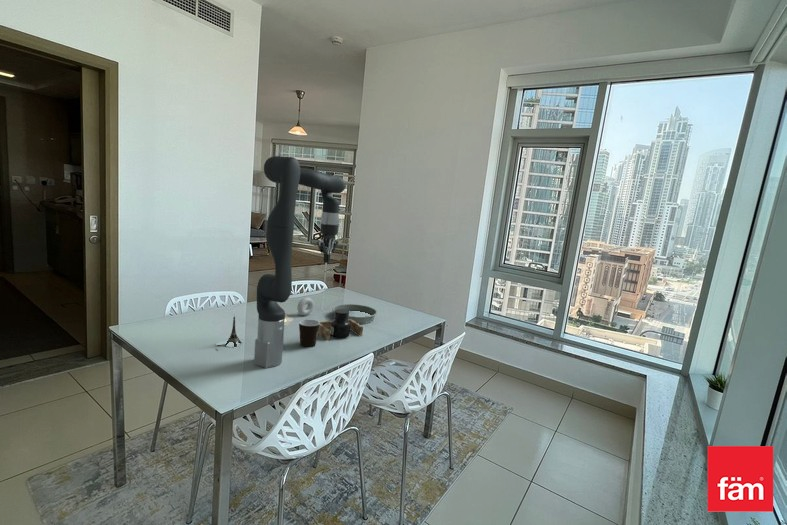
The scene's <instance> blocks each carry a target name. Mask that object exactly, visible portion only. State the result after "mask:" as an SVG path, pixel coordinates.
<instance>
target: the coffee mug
mask: <svg viewBox="0 0 787 525" xmlns="http://www.w3.org/2000/svg"><path fill="white" fill-rule="evenodd" d="M320 322H321V321H319V320H316V319H311V318H310V319H309V318H307V319H302V320H301V319H300V320H299V322H298V326H299V327H298V330H299V331H298V332H299V345H300V347H301V346H302V348H306V349H311V348H314V347H315V346H316V344H317V338H318V335H319V334H318V329H319V324H320Z"/></svg>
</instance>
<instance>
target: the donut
mask: <svg viewBox="0 0 787 525" xmlns="http://www.w3.org/2000/svg"><path fill="white" fill-rule="evenodd" d="M305 305H307V306H306V308H305ZM296 307H297V308H296V310H297V313H298V314H299V315H300V316H303V317H304V316H308V315H310V314H311V313H312V312H313V311H314V307H315V301H314V300H313V299H312V298H311V297H307V296H306V297H302V298H301V299H300V300H299V301H298V304H297V306H296Z"/></svg>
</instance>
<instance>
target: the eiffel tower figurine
mask: <svg viewBox="0 0 787 525" xmlns="http://www.w3.org/2000/svg"><path fill="white" fill-rule="evenodd" d="M232 321H233V322H232V330H231V333H230V335H229V338H228V339H227V340H228V341H227V343H226V344H225V345H227V344H228V343H229V342H233V343H234V347H237V344H236V342H238V343H242V344H243V342H242V341H241V339H239V337H238V334H237V330H236V315H235V314H234V316H233V320H232ZM234 347H233V348H234ZM237 348H238V347H237Z"/></svg>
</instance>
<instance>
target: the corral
mask: <svg viewBox="0 0 787 525" xmlns="http://www.w3.org/2000/svg"><path fill="white" fill-rule="evenodd" d="M332 321H333V320H326V321H319V322H320V324H319V329H318V333H319V334H318V335H319V336H321V338H323V337H324V338H325V339H324V338H323V339H324V340H325V341H329V340H330V337H331V335H330V330H331V322H332ZM348 321H349V322H350V329H351V330H350V331H352V330H353V331H354V333H355V332H356V333H357V334H356V333H355V334H356V335H357V336H359V335H360V336H359V337H362V336H363V331H364V326H363V325H362V324H358V323H356V322H355V321H353V320H352V319H348ZM353 331H352V332H353ZM361 335H362V336H361Z"/></svg>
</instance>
